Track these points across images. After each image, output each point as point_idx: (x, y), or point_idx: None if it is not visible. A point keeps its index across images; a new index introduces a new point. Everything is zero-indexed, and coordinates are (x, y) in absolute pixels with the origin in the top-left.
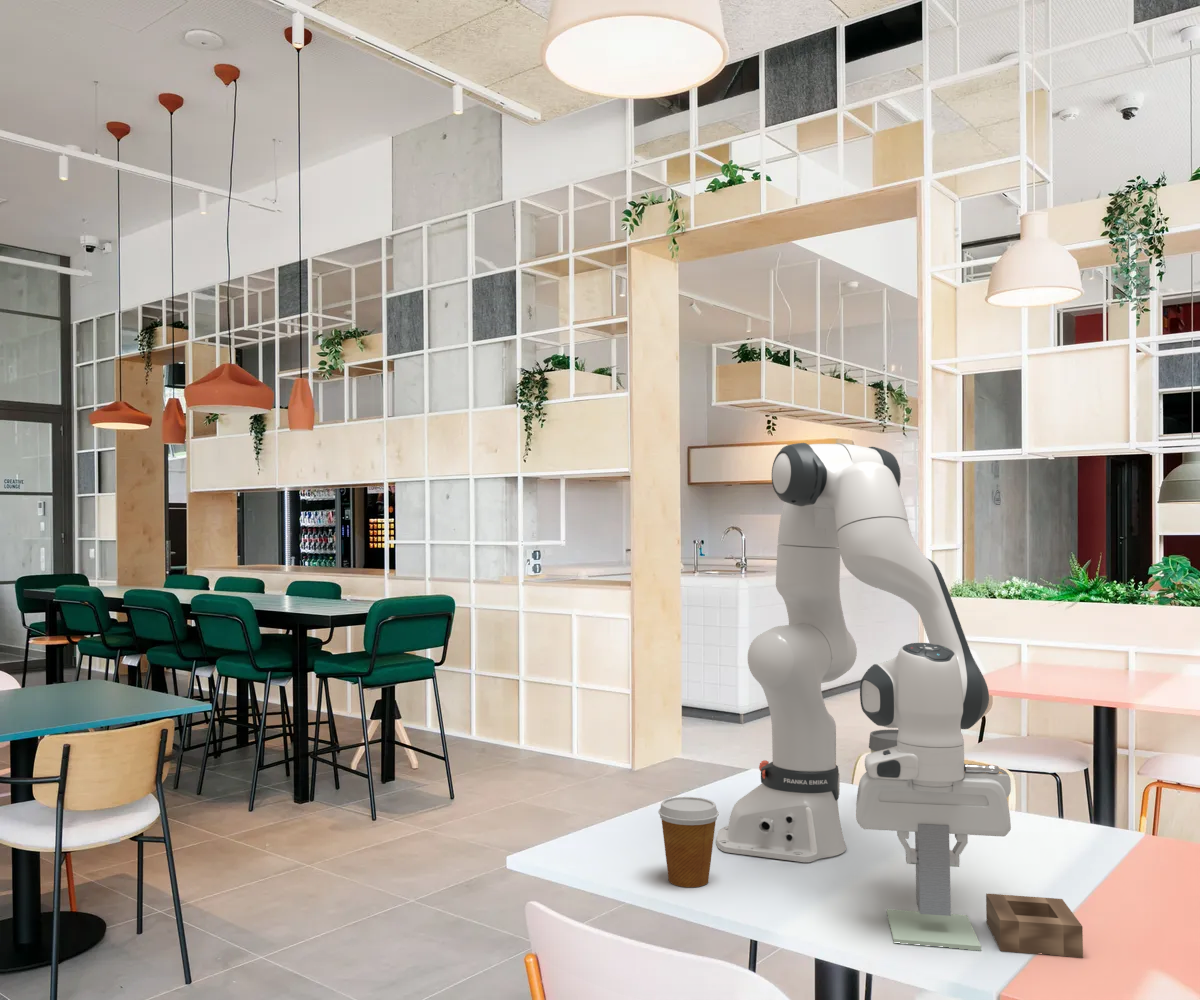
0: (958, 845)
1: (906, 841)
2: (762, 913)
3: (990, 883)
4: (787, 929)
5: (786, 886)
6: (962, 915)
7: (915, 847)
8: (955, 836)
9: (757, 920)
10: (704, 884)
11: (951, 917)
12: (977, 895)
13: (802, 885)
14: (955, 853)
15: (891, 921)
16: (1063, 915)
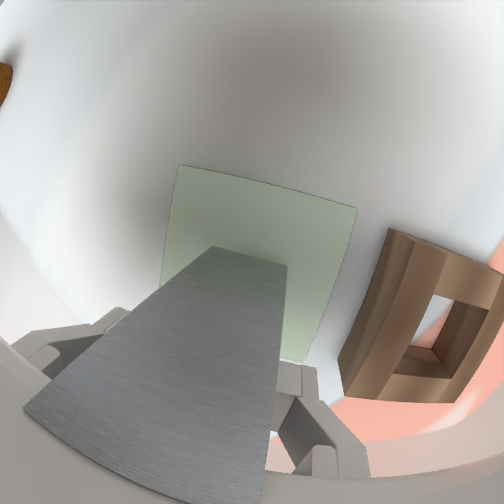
0: (298, 457)
1: (76, 355)
2: (24, 185)
3: (457, 37)
4: (41, 245)
5: (69, 61)
6: (346, 211)
7: (132, 313)
8: (301, 467)
9: (20, 212)
10: (4, 98)
11: (314, 220)
12: (426, 78)
13: (90, 48)
14: (281, 435)
15: (169, 238)
16: (467, 366)
